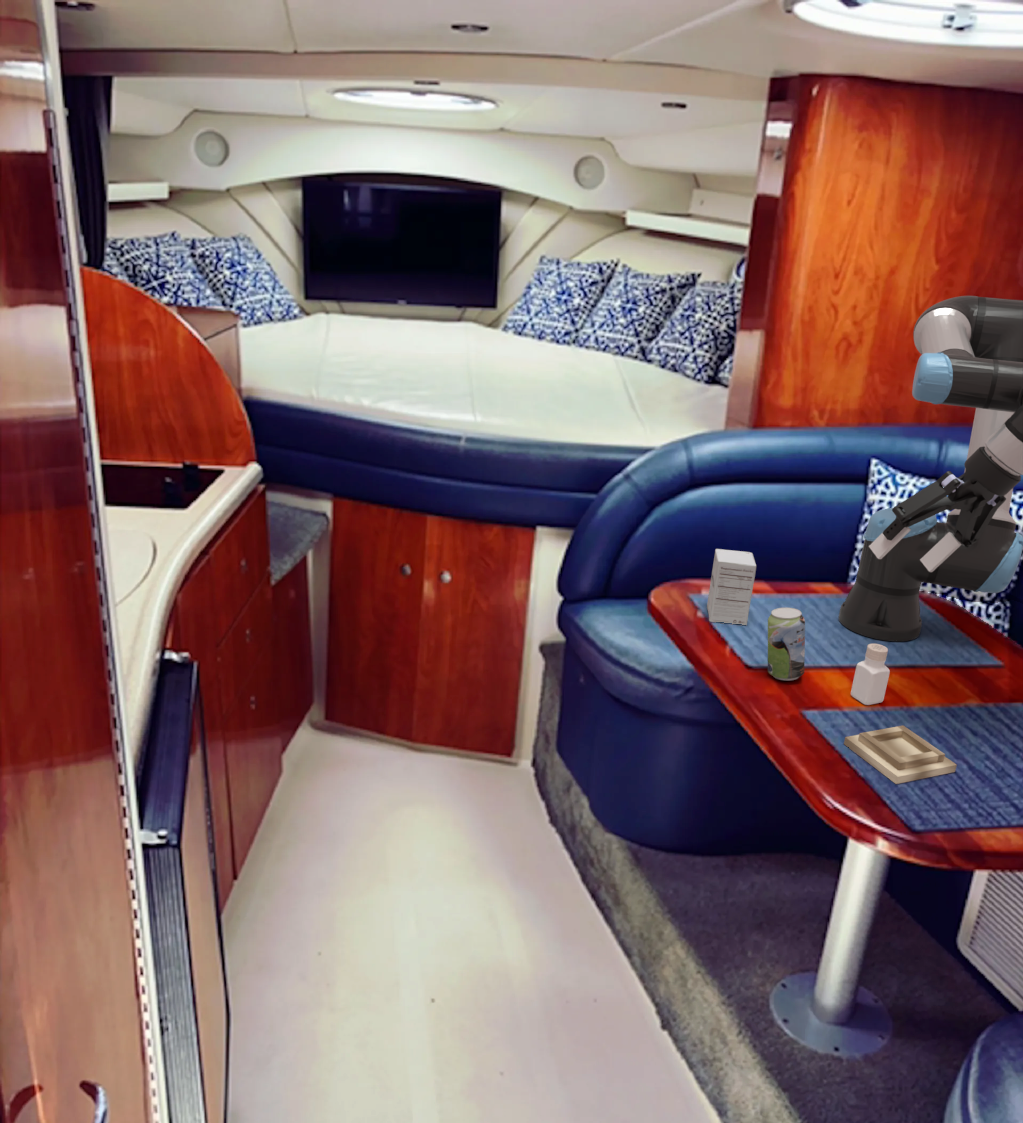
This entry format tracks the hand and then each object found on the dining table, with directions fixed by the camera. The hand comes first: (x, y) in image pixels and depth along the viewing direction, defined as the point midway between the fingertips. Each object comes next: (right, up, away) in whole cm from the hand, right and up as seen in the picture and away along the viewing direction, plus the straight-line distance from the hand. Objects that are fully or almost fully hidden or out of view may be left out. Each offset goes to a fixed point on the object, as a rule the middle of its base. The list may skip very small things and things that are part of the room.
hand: (900, 559), depth 154 cm
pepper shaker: (-3, -23, +6) cm, 24 cm away
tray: (-5, -29, -11) cm, 32 cm away
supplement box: (-20, -11, +34) cm, 41 cm away
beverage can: (-16, -20, +12) cm, 28 cm away
